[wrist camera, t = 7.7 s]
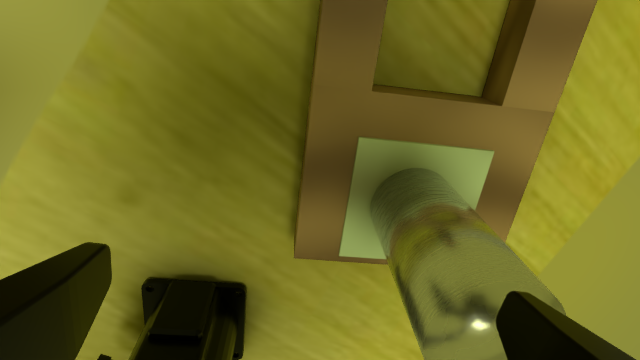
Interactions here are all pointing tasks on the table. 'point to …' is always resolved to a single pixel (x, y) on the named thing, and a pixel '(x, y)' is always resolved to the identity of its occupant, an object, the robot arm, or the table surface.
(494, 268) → the clear glass jar
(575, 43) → the pocket block
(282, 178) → the table surface
